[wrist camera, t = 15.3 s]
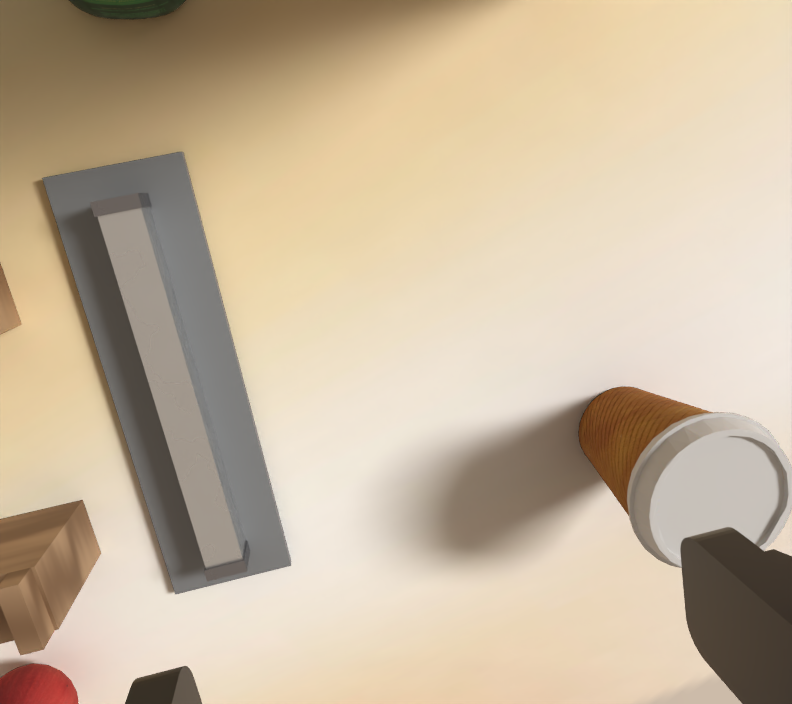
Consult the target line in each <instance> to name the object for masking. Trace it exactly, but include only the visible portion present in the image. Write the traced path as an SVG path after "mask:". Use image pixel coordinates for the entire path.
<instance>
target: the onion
mask: <svg viewBox="0 0 792 704" xmlns="http://www.w3.org/2000/svg"><path fill="white" fill-rule="evenodd" d="M0 704H78V696H77V691H76V689H75V687H74V685H73V683H72V681H71V680H70V679H69V678H68V677H67V676H66V675H65V674H64V673H63V672H62V671H60V670H58V669H56V668H53V667H51V666H49V665H42V664H29V665H26V666H22V667H18V668H16V669H14V670H12V671H10V672H8V673H7V674H5V675H4V676H2V677H1V678H0Z"/></svg>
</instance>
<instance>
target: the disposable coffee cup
mask: <svg viewBox="0 0 792 704" xmlns="http://www.w3.org/2000/svg"><path fill="white" fill-rule="evenodd" d="M579 441H580V445H581V448H582V450H583V452H584V454H585V455H586V456H587V457H588V459H589V460H590V462H591V463H592V464H593V466H594V467H595V469H596V470H597V472H598V473H599V474H600V476H601V477H602V479H603V480H604V482H605V483H606V484H607V486H608V487H609V488H610V490H611V491H612V493H613V494H614V496H615V497H616V498H617V500H618V501H619V503H620V504H621V506H622V507H623V508H624V510H625V511H626V512H627V514H628V515H629V518H630V521H631V524H632V527H633V530H634V533H635V534H636V536H637V538H638V539H639V541H640V542H641V544H642V545H643V547H644V548H645V549H646V550H647V551H648V552H650V553H651V554H652V555H653V556H654V557H656V558H657V559H658V560H660V561H662V562H664V563H667V564H669V565H671V566H675V567H679V568H682V565H681V553H680V547H681V542H682V540H683V539H684V538H687V537H690V536H694V535H698V534H702V533H706V532H710V531H713V530H717V529H721V528H725V527H731V528H734V529H735V530H737V531H738V532H740V533H741V534H742V535H744V536H745V537H746V538H748V539H749V540H750V541H751V542H753V543H754V544H755V545H757V546H758V547H759V548H761V549H762V550H763V551H764V550H765V549H766V548H767V547H768V546H769V545H770V544H771V543H773V542H774V540H775V539H776V538H777V536H778V535H779V533H780V532H781V531H782V529H783V528H784V526H785V524H786V521H787V519H788V517H789V515H790V512H791V509H792V468H791V465H790V462H789V460H788V458H787V456H786V455H785V453H784V452H783V450H782V449H781V448H780V446H779V443H778V442H777V441H776V439H775V438H774V437H773V435H772V434H771V433H770V432H769V430H767V429H766V428H765V427H763V426H762V425H761V424H760V423H758V422H757V421H755V420H752V419H750V418H748V417H746V416H742V415H738V414H735V413H724V412H714V413H713V412H708V411H707V410H702V409H701V408H696V407H694V406H690V405H688V404H684V403H681V402H677V401H675V400H671V399H669V398H665V397H662V396H659V395H655V394H653V393H650V392H646V391H643V390H640V389H638V388H634V387H617V388H613V389H610V390H608V391H606V392H604V393H602V394H601V395H599V396H598V397H596V398H595V399H594V400H593V401H592V402H591V403H590V405H589V406H588V407H587V409H586V410H585V412H584V414H583V416H582V418H581V421H580V426H579Z"/></svg>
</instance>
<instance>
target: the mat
mask: <svg viewBox="0 0 792 704" xmlns="http://www.w3.org/2000/svg"><path fill="white" fill-rule="evenodd" d="M42 179H43V182H44V185H45V189H46V192H47V195H48V198H49V201H50V204H51V207H52V210H53V213H54V217H55V220H56V223H57V226H58V229H59V232H60V235H61V238H62V242H63V245H64V248H65V251H66V254H67V257H68V260H69V263H70V267H71V270H72V273H73V276H74V279H75V282H76V285H77V288H78V292H79V295H80V298H81V301H82V304H83V307H84V310H85V313H86V317H87V320H88V323H89V326H90V329H91V332H92V335H93V338H94V342H95V345H96V348H97V351H98V354H99V357H100V360H101V363H102V367H103V370H104V373H105V376H106V379H107V382H108V385H109V388H110V392H111V395H112V398H113V401H114V404H115V407H116V410H117V413H118V417H119V420H120V423H121V426H122V429H123V432H124V435H125V438H126V441H127V445H128V448H129V451H130V454H131V457H132V460H133V463H134V466H135V470H136V473H137V476H138V479H139V482H140V485H141V488H142V491H143V495H144V498H145V501H146V504H147V507H148V510H149V513H150V516H151V520H152V523H153V526H154V529H155V532H156V535H157V538H158V541H159V545H160V548H161V551H162V554H163V557H164V560H165V563H166V566H167V570H168V573H169V576H170V579H171V582H172V585H173V588H174V591H175V594H179V593H183V592H187V591H191V590H195V589H199V588H203V587H207V586H211V585H215V584H219V583H223V582H227V581H231V580H235V579H239V578H243V577H247V576H251V575H255V574H259V573H263V572H267V571H271V570H275V569H279V568H283V567H287V566H291V559H290V555H289V551H288V547H287V544H286V540H285V536H284V532H283V528H282V525H281V521H280V517H279V513H278V510H277V506H276V502H275V498H274V494H273V491H272V487H271V483H270V479H269V475H268V472H267V468H266V464H265V460H264V456H263V453H262V449H261V445H260V441H259V437H258V434H257V430H256V426H255V422H254V418H253V415H252V411H251V407H250V403H249V399H248V396H247V392H246V388H245V384H244V381H243V377H242V373H241V369H240V365H239V362H238V358H237V354H236V350H235V346H234V343H233V339H232V335H231V331H230V327H229V324H228V320H227V316H226V312H225V308H224V305H223V301H222V297H221V293H220V289H219V286H218V282H217V278H216V274H215V270H214V267H213V263H212V259H211V255H210V252H209V248H208V244H207V240H206V236H205V233H204V229H203V225H202V221H201V217H200V214H199V210H198V206H197V202H196V198H195V195H194V191H193V187H192V183H191V179H190V176H189V172H188V168H187V164H186V160H185V157H184V153H183V152H177V153H172V154H166V155H161V156H156V157H150V158H145V159H140V160H134V161H129V162H124V163H119V164H113V165H108V166H103V167H97V168H92V169H87V170H81V171H76V172H71V173H66V174H60V175H55V176H50V177H44V178H42ZM135 193H148V194H149V197H150V201H151V204H152V207H151V211H152V214H153V218H154V221H155V225H156V228H157V232H158V235H159V239H160V242H161V246H162V249H163V253H164V256H165V259H166V263H167V266H168V270H169V273H170V277H171V280H172V284H173V287H174V291H175V294H176V298H177V301H178V305H179V308H180V312H181V315H182V319H183V322H184V326H185V329H186V333H187V336H188V340H189V343H190V347H191V350H192V354H193V357H194V361H195V364H196V368H197V371H198V375H199V378H200V382H201V385H202V389H203V392H204V396H205V399H206V403H207V406H208V410H209V413H210V417H211V420H212V424H213V427H214V431H215V434H216V438H217V441H218V445H219V448H220V452H221V455H222V459H223V462H224V466H225V469H226V473H227V476H228V480H229V483H230V487H231V490H232V494H233V497H234V501H235V504H236V508H237V511H238V515H239V518H240V522H241V525H242V529H243V532H244V536H245V539H246V540H247V541H248V544H249V548H250V556H249V563H248V570H247V572H243V573H240V574H236V575H232V576H228V577H224V578H220V579H216V580H212V581H208V582H207V580H206V577H205V573H204V568H205V565H204V561H203V558H202V555H201V552H200V548H199V545H198V542H197V539H196V535H195V532H194V529H193V526H192V522H191V519H190V516H189V513H188V509H187V506H186V503H185V500H184V496H183V493H182V490H181V487H180V483H179V480H178V477H177V474H176V470H175V467H174V464H173V461H172V457H171V454H170V451H169V448H168V444H167V441H166V438H165V435H164V431H163V428H162V425H161V422H160V418H159V415H158V412H157V409H156V405H155V402H154V399H153V396H152V392H151V389H150V386H149V383H148V379H147V376H146V373H145V370H144V366H143V363H142V360H141V357H140V353H139V350H138V347H137V344H136V340H135V337H134V334H133V331H132V327H131V324H130V321H129V318H128V314H127V311H126V308H125V305H124V301H123V298H122V295H121V292H120V288H119V285H118V282H117V279H116V275H115V272H114V269H113V266H112V262H111V259H110V256H109V253H108V249H107V246H106V243H105V240H104V236H103V233H102V230H101V227H100V223H99V220H98V217H94V214H93V211H92V208H91V204H90V202H94V201H99V200H104V199H109V198H115V197H120V196H125V195H130V194H135Z"/></svg>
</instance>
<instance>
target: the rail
mask: <svg viewBox="0 0 792 704" xmlns="http://www.w3.org/2000/svg"><path fill="white" fill-rule="evenodd" d="M90 204H91V208H92V211H93V214H94V217H98V220H99V223H100V227H101V230H102V233H103V236H104V240H105V243H106V246H107V249H108V253H109V256H110V259H111V262H112V266H113V269H114V272H115V275H116V279H117V282H118V285H119V288H120V292H121V295H122V298H123V301H124V305H125V308H126V311H127V314H128V318H129V321H130V324H131V327H132V331H133V334H134V337H135V340H136V344H137V347H138V350H139V353H140V357H141V360H142V363H143V366H144V370H145V373H146V376H147V379H148V383H149V386H150V389H151V392H152V396H153V399H154V402H155V405H156V409H157V412H158V415H159V418H160V422H161V425H162V428H163V431H164V435H165V438H166V441H167V444H168V448H169V451H170V454H171V457H172V461H173V464H174V467H175V470H176V474H177V477H178V480H179V483H180V487H181V490H182V493H183V496H184V500H185V503H186V506H187V509H188V513H189V516H190V519H191V522H192V526H193V529H194V532H195V535H196V539H197V542H198V545H199V548H200V552H201V555H202V558H203V561H204V565H205V568H204V573H205V577H206V580H207V582H208V581H212V580H216V579H220V578H224V577H228V576H232V575H236V574H240V573H243V572H247V570H248V563H249V556H250V548H249V544H248V541H247V540H246V539H245V536H244V532H243V529H242V525H241V522H240V518H239V515H238V511H237V508H236V504H235V501H234V497H233V494H232V490H231V487H230V483H229V480H228V476H227V473H226V469H225V466H224V462H223V459H222V455H221V452H220V448H219V445H218V441H217V438H216V434H215V431H214V427H213V424H212V420H211V417H210V413H209V410H208V406H207V403H206V399H205V396H204V392H203V389H202V385H201V382H200V378H199V375H198V371H197V368H196V364H195V361H194V357H193V354H192V350H191V347H190V343H189V340H188V336H187V333H186V329H185V326H184V322H183V319H182V315H181V312H180V308H179V305H178V301H177V298H176V294H175V291H174V287H173V284H172V280H171V277H170V273H169V270H168V266H167V263H166V259H165V256H164V253H163V249H162V246H161V242H160V239H159V235H158V232H157V228H156V225H155V221H154V218H153V214H152V211H151V207H152V204H151V201H150V197H149V194H148V193H135V194H130V195H125V196H120V197H115V198H109V199H104V200H99V201H94V202H90Z"/></svg>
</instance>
